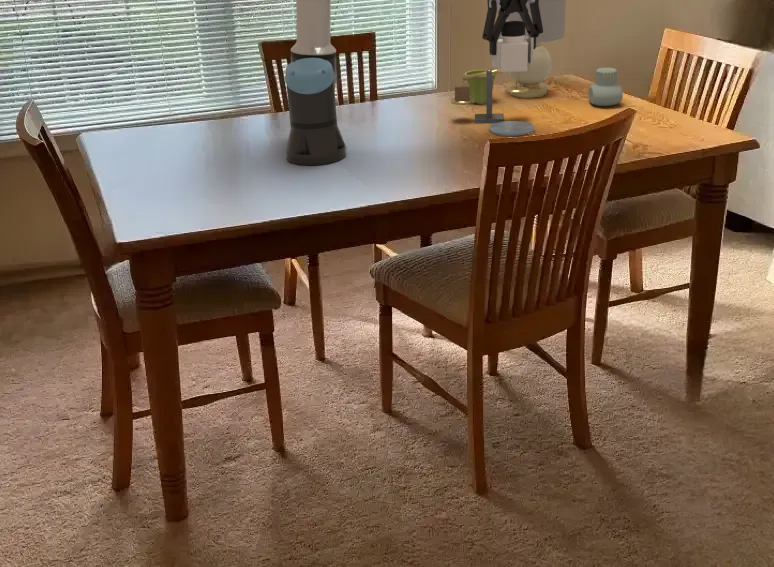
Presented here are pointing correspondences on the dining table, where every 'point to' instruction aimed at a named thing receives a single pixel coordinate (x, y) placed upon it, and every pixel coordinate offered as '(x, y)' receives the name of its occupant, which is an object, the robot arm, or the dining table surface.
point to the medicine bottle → (513, 47)
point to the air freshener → (605, 88)
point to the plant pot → (478, 87)
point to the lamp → (540, 46)
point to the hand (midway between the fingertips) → (512, 65)
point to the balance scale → (464, 95)
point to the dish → (511, 128)
